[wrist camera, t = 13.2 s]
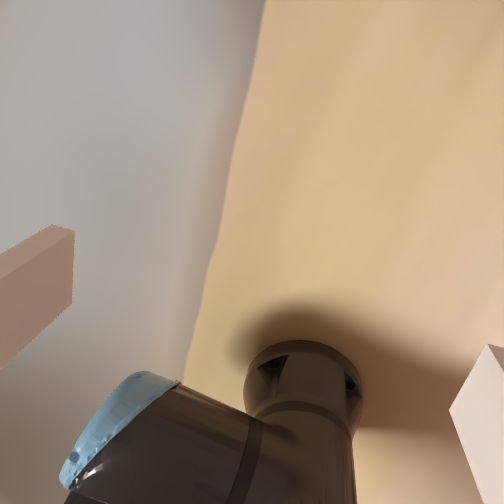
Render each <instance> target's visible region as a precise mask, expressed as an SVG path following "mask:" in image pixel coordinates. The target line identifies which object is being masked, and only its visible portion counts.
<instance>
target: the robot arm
mask: <svg viewBox="0 0 504 504" xmlns="http://www.w3.org/2000/svg"><path fill="white" fill-rule="evenodd" d="M74 236H75V231H73V230H70V229H66V228H62V227H58V226H55V225H51V226H49V227H47V228H45V229H44V230H42V231H40V232H38V233H37V234H35V235H33V236H31V237H30V238H28V239H26V240H24V241H23V242H21V243H19V244H17V245H16V246H14V247H12V248H10V249H9V250H7V251H5V252H3V253H2V254H0V369H2V368H3V367H4V366H5V365H6V364H7V363H8V362H9V361H10V360H11V359H12V358H13V357H15V356H16V355H17V354H18V353H19V352H20V351H21V350H22V349H23V348H24V347H25V346H26V345H27V344H28V343H29V342H31V341H32V339H34V338H35V337H36V336H37V335H38V334H39V333H40V332H41V331H42V330H44V329H45V328H46V327H47V326H48V325H49V324H50V323H51V322H52V321H53V320H54V319H55V318H56V317H57V316H59V315H60V313H62V312H63V311H64V310H65V309H66V308H67V307H68V306H69V305H70V304H71V303H72V283H73V282H72V281H73V258H74ZM243 397H244V404H245V409H246V413H244V412H242V411H239V410H237V409H235V408H233V407H230V406H228V405H226V404H224V403H221V402H219V401H217V400H215V399H212V398H210V397H208V396H206V395H204V394H201V393H199V392H197V391H195V390H192V389H190V388H188V387H186V386H184V385H182V383H181V382H179V381H177V380H176V381H172V380H169V379H167V378H164V377H162V376H159V375H156V374H154V373H151V372H148V371H140V372H136V373H134V374H132V375H130V376H128V377H127V378H126V379H125V380H124V381H122V382H121V383H120V384H119V386H117V387H116V389H115V390H114V391H113V392H112V393H111V394H110V396H109V397H108V398H107V399H106V400H105V402H104V403H103V405H102V406H101V407H100V408H99V410H98V411H97V412H96V414H95V415H94V417H93V418H92V419H91V421H90V422H89V424H88V425H87V427H86V428H85V429H84V431H83V432H82V434H81V435H80V437H79V439H78V440H77V442H76V444H75V446H74V449H73V450H72V452H71V454H70V455H69V457H68V458H67V460H66V461H65V463H64V465H63V467H62V470H61V472H60V476H59V478H60V482H61V483H62V484H63V486H64V488H65V489H68V490H70V489H71V492H70V494H69V495H68V497H67V499H66V501H65V503H64V504H357V495H356V483H355V471H354V460H353V448H352V439H353V437H354V434H355V431H356V428H357V425H358V422H359V419H360V416H361V413H362V409H363V391H362V384H361V380H360V377H359V374H358V372H357V370H356V369H355V367H354V366H353V365H352V363H351V362H350V361H349V360H348V359H347V358H346V357H344V356H343V355H342V354H341V353H339V352H338V351H336V350H334V349H332V348H330V347H328V346H325V345H323V344H319V343H315V342H310V341H288V342H283V343H279V344H276V345H273V346H271V347H269V348H267V349H266V350H264V351H263V352H261V353H260V354H259V355H258V356H257V357H256V358H255V359H254V360H253V362H252V363H251V365H250V367H249V369H248V371H247V375H246V379H245V383H244V389H243ZM449 412H450V414H451V417H452V420H453V422H454V425H455V428H456V431H457V433H458V436H459V439H460V441H461V444H462V447H463V449H464V452H465V455H466V458H467V460H468V463H469V466H470V468H471V471H472V474H473V476H474V479H475V482H476V485H477V487H478V490H479V493H480V495H481V498H482V501H483V503H484V504H504V348H501V347H498V346H494V345H490V344H486V346H485V347H484V349H483V351H482V353H481V355H480V356H479V358H478V360H477V362H476V363H475V365H474V367H473V369H472V370H471V372H470V374H469V376H468V377H467V379H466V381H465V383H464V384H463V386H462V388H461V390H460V391H459V393H458V395H457V397H456V398H455V400H454V402H453V404H452V405H451V407H450V409H449Z"/></svg>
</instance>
